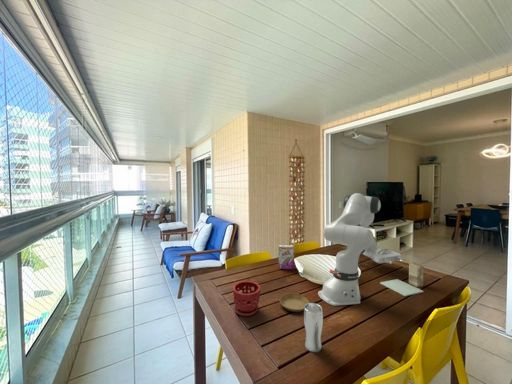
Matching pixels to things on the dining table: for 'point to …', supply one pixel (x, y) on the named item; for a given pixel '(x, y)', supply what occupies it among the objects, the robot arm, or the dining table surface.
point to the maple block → (416, 274)
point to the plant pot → (246, 298)
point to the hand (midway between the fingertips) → (397, 261)
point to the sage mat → (401, 287)
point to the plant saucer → (293, 302)
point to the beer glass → (313, 326)
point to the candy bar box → (286, 257)
